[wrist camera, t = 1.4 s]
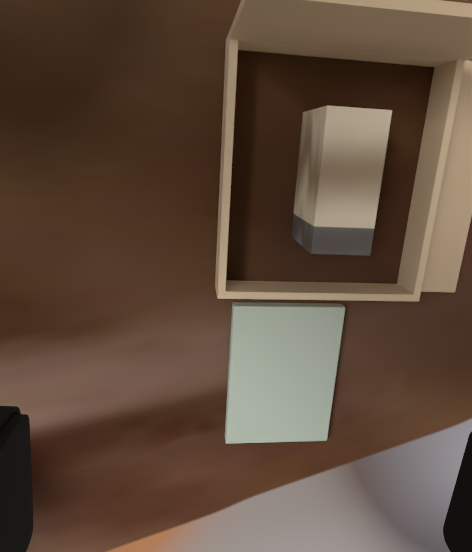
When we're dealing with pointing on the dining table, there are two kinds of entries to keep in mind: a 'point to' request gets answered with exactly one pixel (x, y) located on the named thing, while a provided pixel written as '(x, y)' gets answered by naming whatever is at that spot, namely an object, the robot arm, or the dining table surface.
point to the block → (339, 179)
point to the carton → (435, 141)
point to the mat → (282, 371)
